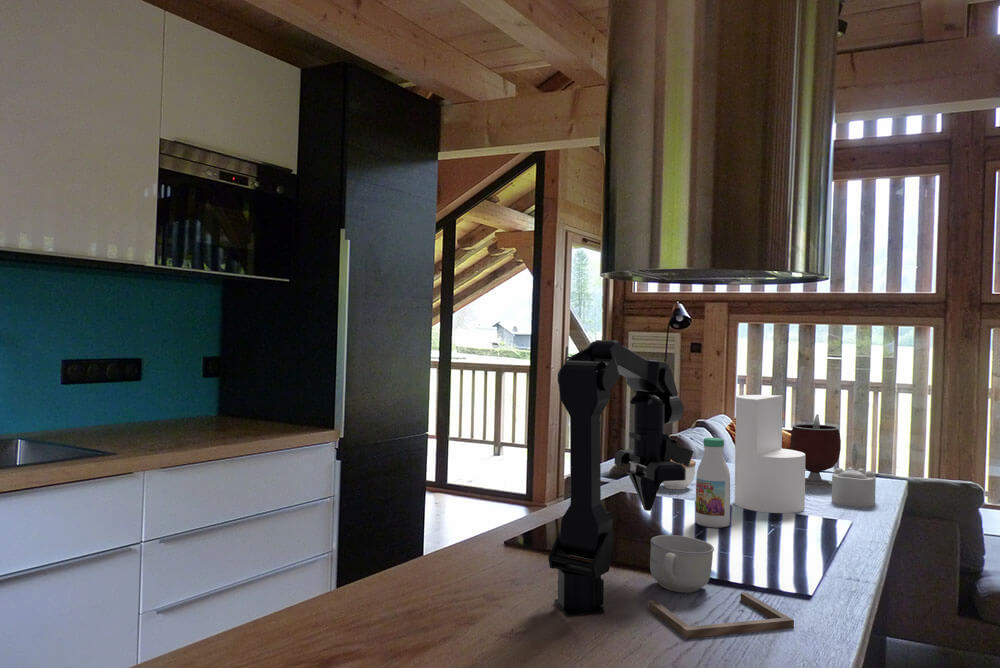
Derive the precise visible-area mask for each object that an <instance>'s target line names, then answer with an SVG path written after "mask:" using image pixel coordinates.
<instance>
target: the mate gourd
mask: <svg viewBox="0 0 1000 668" xmlns="http://www.w3.org/2000/svg"><path fill="white" fill-rule="evenodd" d="M819 416H820V415H819V414H816V415H815V416H814V419H813V423H797V424H792V428H791V433H790V450H795V451H799V452H803V453H805V471H808V472H809V474H808V477H805V488H813V489H832V480H828V479H825V478H824V479H823V478H822V476H821V473H822V472H824V471H827V470H829V469H833V468H834V466H835V465H836V464H837V463H838V462H839V459H840V455H841V450H842V447H841V446H842V444H841V443H842V440H841V433H840V428H839V427H837V426H835V425H834V426H833V425H826V424H820V423H821V422H820V421H821V420H820V417H819Z"/></svg>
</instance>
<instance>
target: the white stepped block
mask: <svg viewBox="0 0 1000 668" xmlns="http://www.w3.org/2000/svg"><path fill="white" fill-rule="evenodd" d="M783 398H784V397H783V395H777V394H776V395H775V394H741V395H740V394H739V395H736V396H735V438H734V440H735V441H734V451H735V452H734V455H735V456H734V501H733V502H734V505H735V506H736V507H739V508H741V509H745V510H749V511H755V512H762V513H768V514H769V513H770V514H772V513H773V514H793V513H799V512H803V511H804V510H805V507H806V504H805V503H806V498H805V497H806V487H805V478H806V469H805V453H803V452H799V451H795V450H791V449H788V448H783Z"/></svg>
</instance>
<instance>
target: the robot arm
mask: <svg viewBox="0 0 1000 668" xmlns="http://www.w3.org/2000/svg"><path fill="white" fill-rule="evenodd" d="M620 376H622V377H624V378H626V380H625V384H626V385H627V386H629V388H630V389H631V390H633V392H634V393H635V395H634V396H633V397H631V400H630V402H629V403H630V405H633V429H632V430H633V431H629V432H628V433H629V435H628V436H629V438H632V441H633V442H632V449H619V450H618V451H617V452H616V453H615V454H614V466H615V465H616V466H618V467H623V466H624V465H630V469H629V470H626V474H627V475H628V477H629V479H630V481H631V483H632V485H633V487H634V489H635V491H636V494H637V496H638V499H639V501H640V503H641V506H642V508H643V510H644V511H646V512H649V511H652V509H653V507H654V503H655V499H656V497H657V495H658V491H659V489H660V487H661V484H663V483H662V482H664V481H679V480H686V469H685V468H684V467H683V466H682V465H681V464H683V465H685V466H688V467H689V464H690V461H691V460H692V457H693V455H694V450H692V449H689V448H686V447H683V446H681V445H679V444H678V440H677V439H674V438H671V437H670V435H669V433H665V425H667V424H673V423H676V422H679V420H681V418H682V417H683V415H684V411H685V408H684V407H685V406H684V404H683V401H682V400H681V399H680V398H679V397H678V395H679V393H678V390H677V386H676V383H675V378H674V376H673V372H672V369H671V368H670V366H669V364H668V363H667V362H666V361H661V360H654V359H646V358H644V357H642V356H641V355H639V354H637V353H636V352H634V351H632V350H631V349H629V348H627V347H626V346H624V345H623V343H622V342H620V341H618V340H612V339H611V340H610V339H596V340H594V341H592V342H590V344H589V345H588V346H587V347H586V348H584V349H582V350H580V351H578V352H577V353H575V354H573V355H570V356H569V358H568V359H567V360H566V361H565V363H564V364H563V365H562V366H561V367H560V368H559V370H558V373H557V385H558V390H559V399H560V401H561V403H562V405H563V406H564V408H565V410H566V411H567V414H568V415H569V443H570V445H569V449H570V450H569V452H570V453H569V457H570V458H569V459H570V462H569V463H570V466H569V467H570V468H569V469H570V470H569V471H570V473H569V474H570V475H569V476H570V480H569V481H570V489H569V491H570V493H569V495H570V501H569V502H570V503H569V506H568V508H567V509H566V511H565V512H564V514H563V516H562V518H561V519H560V524H559V525H560V526H559V528H560V529H559V532H558V534H557V536H556V539H555V541H554V543H553V546H552V548H551V551H550V552H549V555H548V558H547V560H548V564H549V565H548V566H549V569H555V570H557V599H556V598H555V599H554V600H553V602H554V603H553V604H555V605H556V607H558V609H560V610H561V611H562V613H563V614H564V615H565V616H567V617H569V616H571V617H573V616H583V615H596V614H603V613H605V611H606V609H605V608H604V600H605V599H604V596H605V595H604V594H605V593H604V591H605V590H604V589H605V587H604V583H605V582H604V581H605V580H604V579H603V578H602V576H603V575H604V574H606V573H608V572H610V567H611V561H612V554H613V548H614V544H615V543H614V532H613V520H614V518H613V515H612V512H611V511H607V510H605V508H604V507H603V505H602V502H601V501H602V500H601V498H602V497H601V496H602V494H601V487H602V486H601V485H602V484H601V483H602V480H601V469H602V468H601V461H602V459H601V417H602V416H601V415H602V413H603V411H604V410H605V408H606V407H607V405H608V404H609V402H610V400H611V396H612V395H611V394H612V393H611V392H612V388H613V386H614V385H615V384H616V382H617V381H618V380H619V378H620ZM671 460H672V461H671ZM673 461H674V462H673ZM569 556H571V557H576V558H571V557H569ZM577 558H580V559H577ZM583 559H586V560H587V561H586V560H583ZM588 560H590V561H588ZM591 561H592V562H591Z"/></svg>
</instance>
